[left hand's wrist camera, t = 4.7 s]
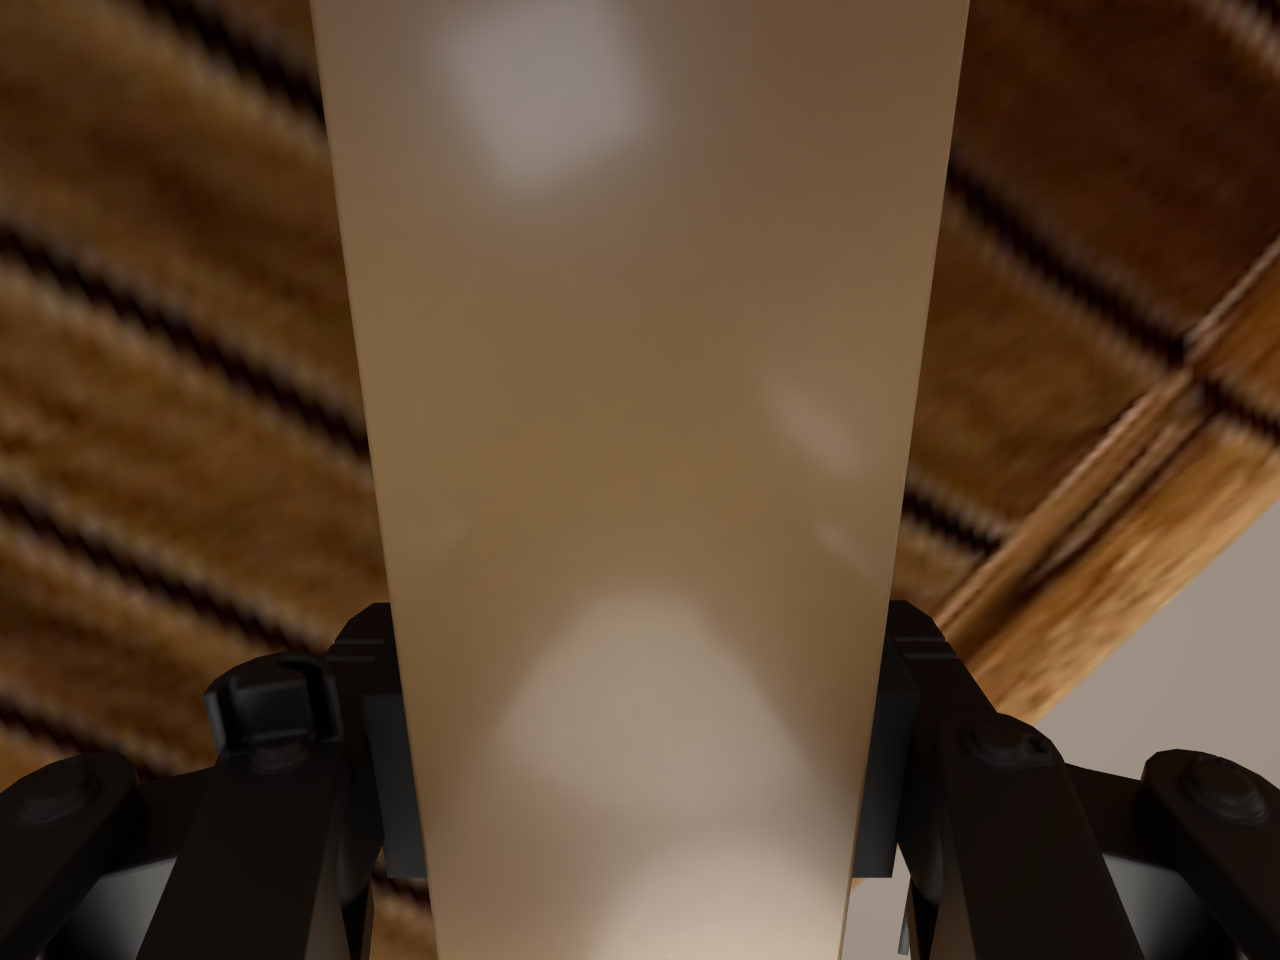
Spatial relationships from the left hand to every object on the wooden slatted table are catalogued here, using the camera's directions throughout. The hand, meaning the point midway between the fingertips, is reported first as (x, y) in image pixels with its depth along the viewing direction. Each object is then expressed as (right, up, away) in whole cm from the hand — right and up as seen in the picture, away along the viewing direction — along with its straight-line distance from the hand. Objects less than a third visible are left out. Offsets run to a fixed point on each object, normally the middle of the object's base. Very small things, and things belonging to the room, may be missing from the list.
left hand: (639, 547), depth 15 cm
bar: (0, +8, -2) cm, 8 cm away
